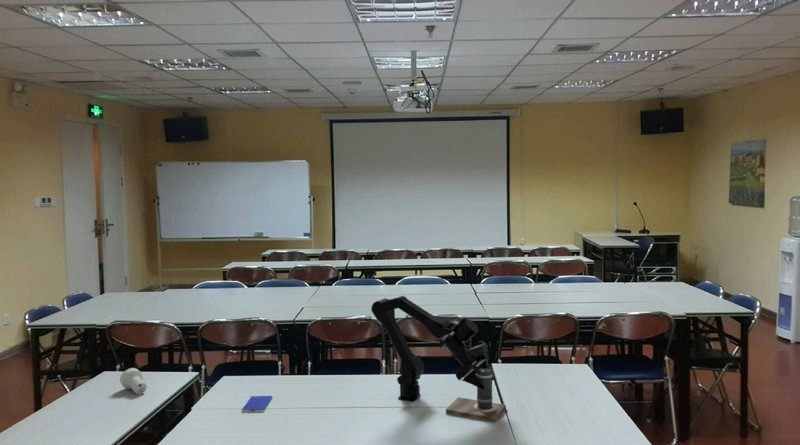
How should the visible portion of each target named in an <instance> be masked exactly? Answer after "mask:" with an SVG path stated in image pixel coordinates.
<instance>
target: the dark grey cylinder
mask: <svg viewBox="0 0 800 445" xmlns="http://www.w3.org/2000/svg"><path fill="white" fill-rule="evenodd" d="M476 375H477V376H478V377H479V379H480V380H481V382H482V383H483V385H484V386H485V388H484V389H480V388H478V387H476V394H477V395H476V400H477V407H478V408H479V409H482V410H489V409H491V408H492V403H493V381H492V375H493V370H492V369H490V368H489V369H487V368H481V369H478V370H476Z"/></svg>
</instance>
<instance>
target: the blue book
mask: <svg viewBox="0 0 800 445" xmlns="http://www.w3.org/2000/svg"><path fill="white" fill-rule="evenodd" d="M272 400H273V396H272V395H251V396H250V398H249V399H248V400H247V402H246V403H245V405H244V406H243V407H242V409H241V413H258V412H259V413H264V412H265V411H266V410H267V408H268V406H269V405H270V403H271V401H272Z"/></svg>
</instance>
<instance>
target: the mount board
mask: <svg viewBox="0 0 800 445" xmlns="http://www.w3.org/2000/svg"><path fill="white" fill-rule="evenodd" d="M506 410H507V405H506V404H501V403H495V402H492V408H491V409H489V410H482V409H479V408H478V407H477V399H472V398H471V399H470V398H465V397H459V396H458V397H457V398H456V399H454V401H453V402H451V403H450V405H449V406H447V407H446V408H445V414H447V415H453V416H459V417H464V418H469V417H470V419H476V420H482V421H487V422H491V423H497V421H498V420H499V419H500V417H501V416H502V415H503V414H504V412H505V411H506Z"/></svg>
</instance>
